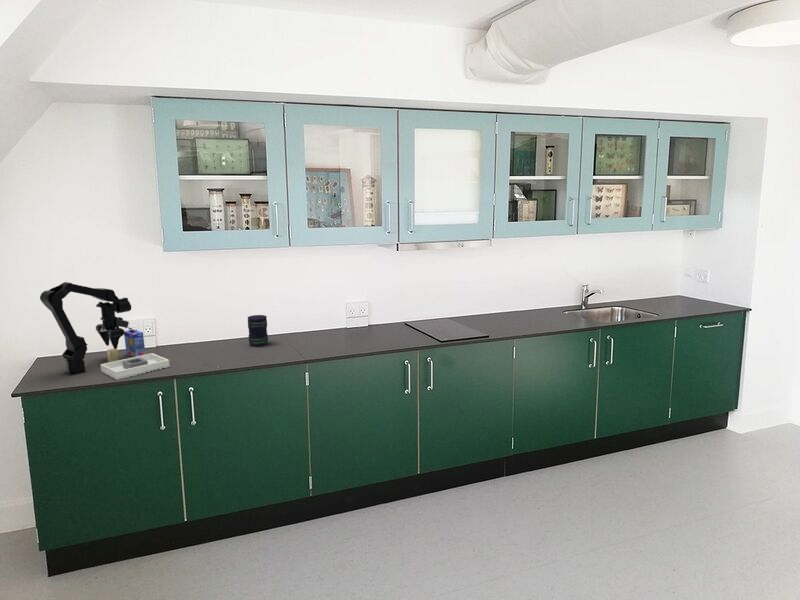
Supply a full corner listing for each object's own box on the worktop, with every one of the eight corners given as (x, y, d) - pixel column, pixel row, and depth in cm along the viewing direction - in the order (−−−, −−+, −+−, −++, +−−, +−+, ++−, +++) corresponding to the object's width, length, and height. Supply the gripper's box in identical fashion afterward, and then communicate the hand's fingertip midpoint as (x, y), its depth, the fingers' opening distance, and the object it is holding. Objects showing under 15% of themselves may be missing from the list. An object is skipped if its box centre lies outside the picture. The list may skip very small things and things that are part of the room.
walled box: (116, 379, 262) (115, 370, 261) (101, 371, 273) (100, 363, 273) (169, 367, 279) (168, 358, 278) (153, 360, 291) (152, 352, 290)
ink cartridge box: (125, 355, 300) (122, 326, 297) (136, 352, 304) (133, 324, 301) (135, 358, 294) (132, 329, 291) (146, 356, 298) (143, 327, 295)
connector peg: (111, 363, 286) (109, 351, 285) (108, 362, 288) (106, 350, 287) (118, 361, 288) (117, 349, 287) (115, 360, 291) (114, 348, 290)
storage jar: (245, 347, 312) (244, 318, 310) (253, 342, 322) (251, 314, 319) (264, 347, 311) (262, 319, 308) (271, 342, 320) (269, 315, 318)
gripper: (134, 315, 283) (137, 347, 286) (117, 309, 296) (120, 340, 299) (109, 319, 275) (113, 352, 278) (93, 313, 288) (97, 345, 291)
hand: (111, 347), depth 287 cm, fingers open, 9 cm apart
